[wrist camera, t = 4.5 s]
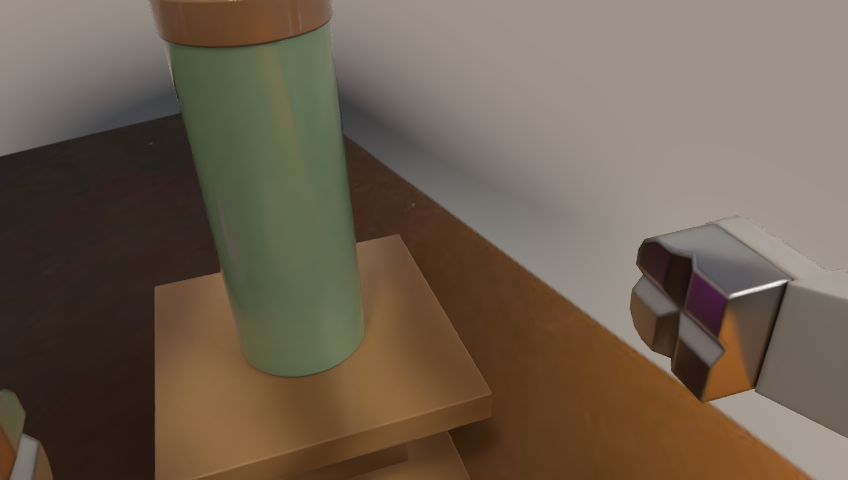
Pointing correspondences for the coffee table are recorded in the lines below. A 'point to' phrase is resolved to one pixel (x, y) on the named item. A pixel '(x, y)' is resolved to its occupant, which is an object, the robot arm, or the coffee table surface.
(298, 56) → the jar
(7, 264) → the coffee table surface
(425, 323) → the stand
